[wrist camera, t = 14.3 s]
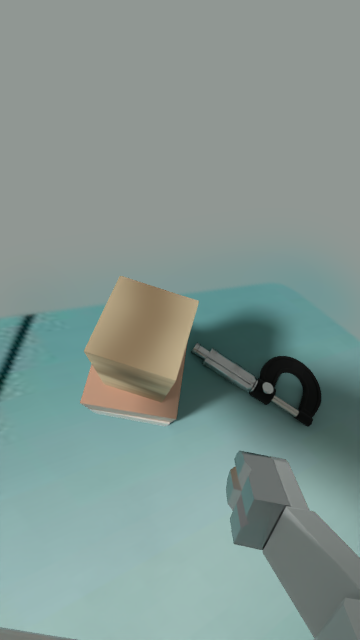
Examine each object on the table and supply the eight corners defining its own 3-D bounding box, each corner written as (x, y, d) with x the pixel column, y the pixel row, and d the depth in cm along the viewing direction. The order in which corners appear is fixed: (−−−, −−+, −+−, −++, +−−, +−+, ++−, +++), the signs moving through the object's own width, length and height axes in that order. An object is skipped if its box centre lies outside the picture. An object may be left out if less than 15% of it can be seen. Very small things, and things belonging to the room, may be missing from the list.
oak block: (178, 348, 21) (199, 301, 14) (161, 402, 19) (175, 380, 12) (126, 331, 21) (120, 275, 14) (104, 384, 19) (83, 351, 12)
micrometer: (324, 379, 31) (338, 374, 29) (304, 434, 28) (319, 433, 26) (216, 312, 33) (222, 302, 30) (187, 357, 30) (191, 350, 27)
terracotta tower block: (181, 347, 26) (188, 332, 22) (170, 422, 23) (176, 419, 19) (111, 334, 25) (106, 316, 22) (89, 409, 22) (80, 402, 19)
